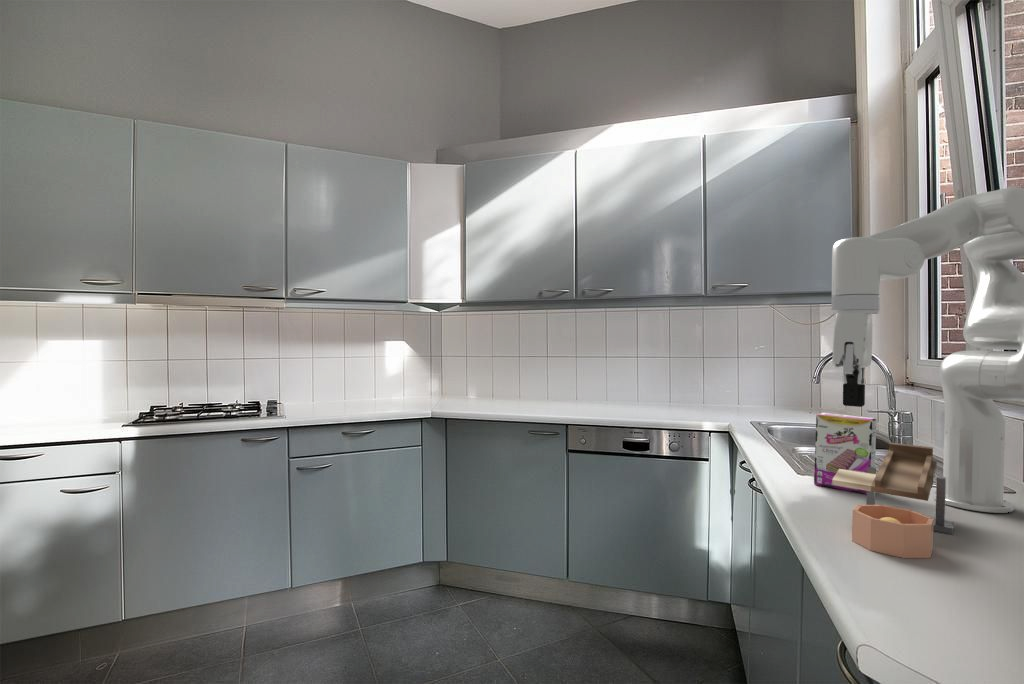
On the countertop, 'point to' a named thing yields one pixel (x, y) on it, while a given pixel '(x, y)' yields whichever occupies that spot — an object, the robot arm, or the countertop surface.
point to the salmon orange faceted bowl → (893, 531)
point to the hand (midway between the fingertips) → (853, 405)
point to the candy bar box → (843, 446)
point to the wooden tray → (896, 473)
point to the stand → (939, 521)
